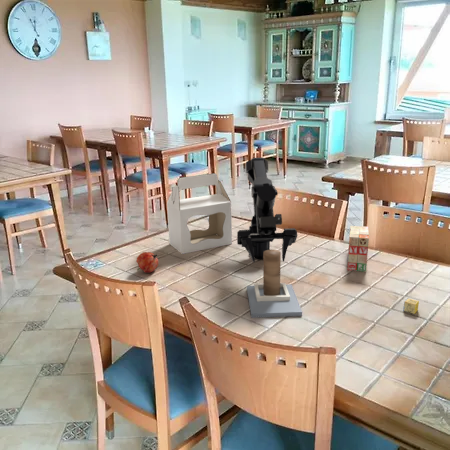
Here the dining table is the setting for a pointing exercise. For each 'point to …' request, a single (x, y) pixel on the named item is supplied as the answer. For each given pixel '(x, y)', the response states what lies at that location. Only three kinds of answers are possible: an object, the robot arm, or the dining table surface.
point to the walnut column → (271, 272)
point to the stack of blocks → (358, 248)
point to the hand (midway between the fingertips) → (268, 261)
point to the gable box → (204, 205)
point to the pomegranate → (147, 262)
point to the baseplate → (273, 302)
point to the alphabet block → (411, 305)
